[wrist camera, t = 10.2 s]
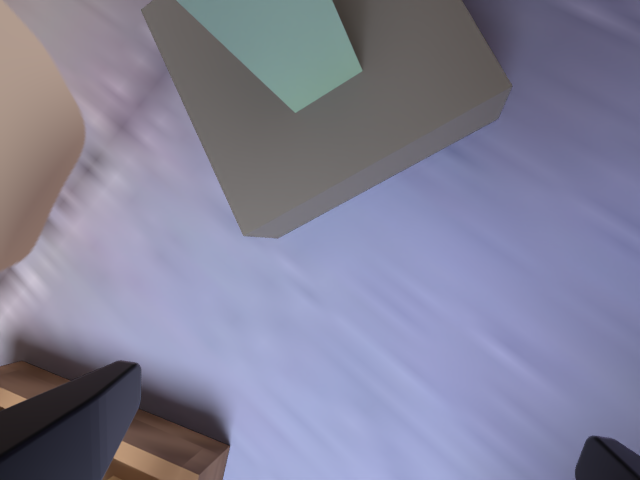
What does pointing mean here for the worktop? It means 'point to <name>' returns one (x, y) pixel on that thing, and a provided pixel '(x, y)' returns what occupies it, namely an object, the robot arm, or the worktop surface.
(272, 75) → the mint green block
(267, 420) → the worktop surface
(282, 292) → the worktop surface
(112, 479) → the offcut lower
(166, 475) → the rack
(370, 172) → the plinth
